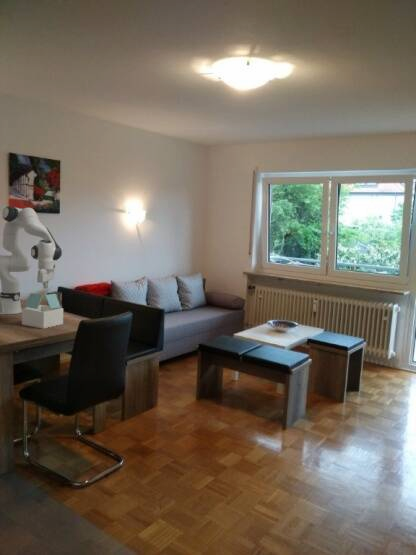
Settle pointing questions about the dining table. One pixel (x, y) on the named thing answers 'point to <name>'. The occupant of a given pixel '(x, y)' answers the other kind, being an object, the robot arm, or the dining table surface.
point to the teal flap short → (52, 301)
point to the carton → (42, 316)
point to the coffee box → (59, 297)
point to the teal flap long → (34, 301)
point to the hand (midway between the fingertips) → (45, 288)
